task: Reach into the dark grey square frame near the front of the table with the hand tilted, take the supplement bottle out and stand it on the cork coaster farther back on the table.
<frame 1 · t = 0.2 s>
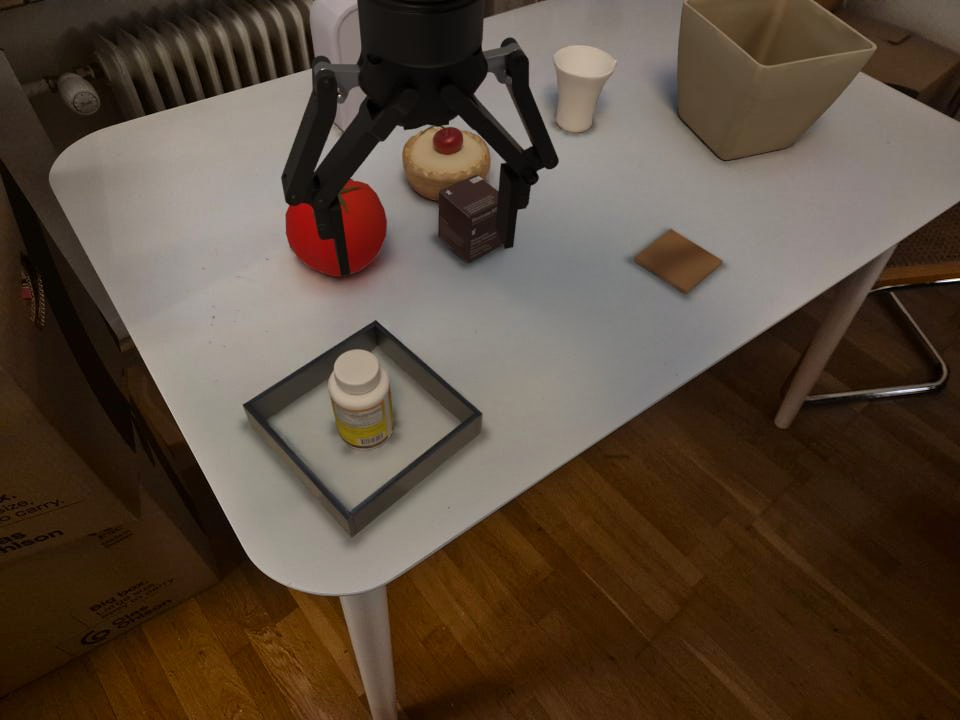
hand: (425, 251, 55), 19 cm above the table, tool pointing down, fingers open, 13 cm apart
box: (470, 242, 84), on the table
cup: (574, 122, 102), on the table
tomato: (342, 260, 81), on the table
coaster: (677, 262, 84), on the table
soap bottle: (360, 117, 100), on the table
flower pot: (733, 133, 103), on the table
supplement bottle: (366, 429, 67), resting in dark grey square frame
dark grey square frame: (366, 428, 66), on the table
pastry: (446, 182, 92), on the table
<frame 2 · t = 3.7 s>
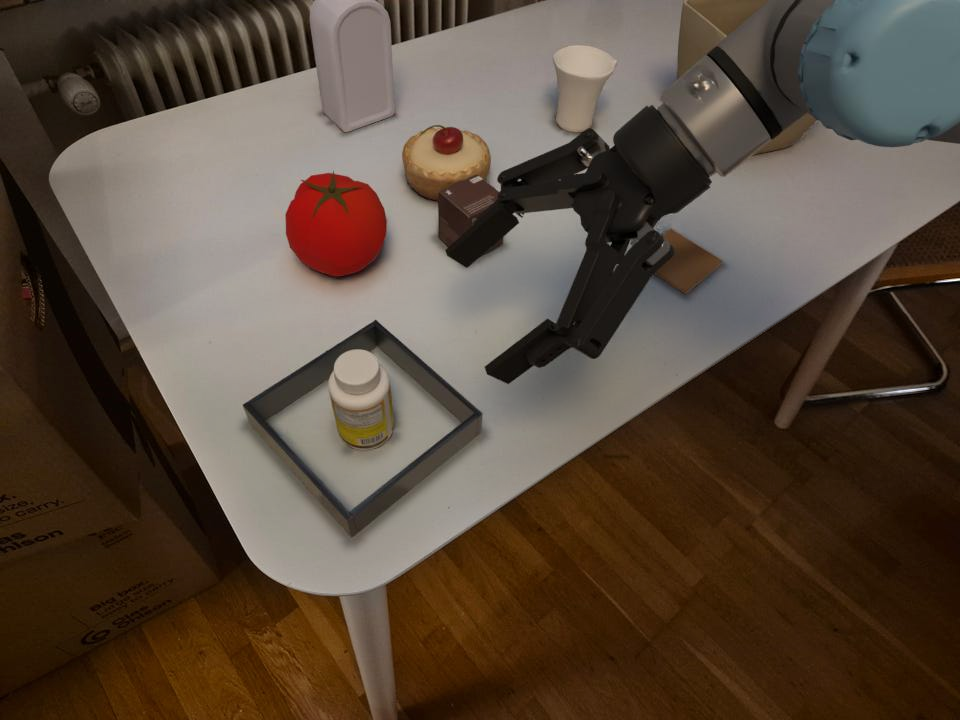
hand: (474, 313, 57), 15 cm above the table, tool tilted 45°, fingers open, 13 cm apart
nothing on the table moved.
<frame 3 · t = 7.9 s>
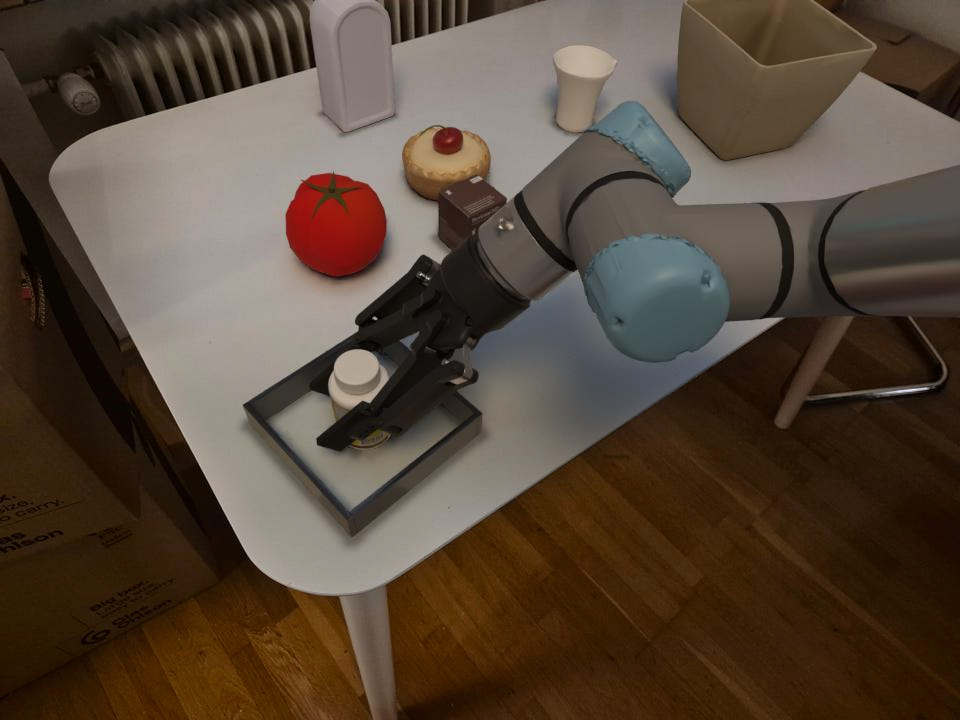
hand: (324, 416, 63), 3 cm above the table, tool tilted 45°, fingers closed on supplement bottle, 6 cm apart
supplement bottle: (366, 429, 67), resting in dark grey square frame, touching gripper
everything else where it was.
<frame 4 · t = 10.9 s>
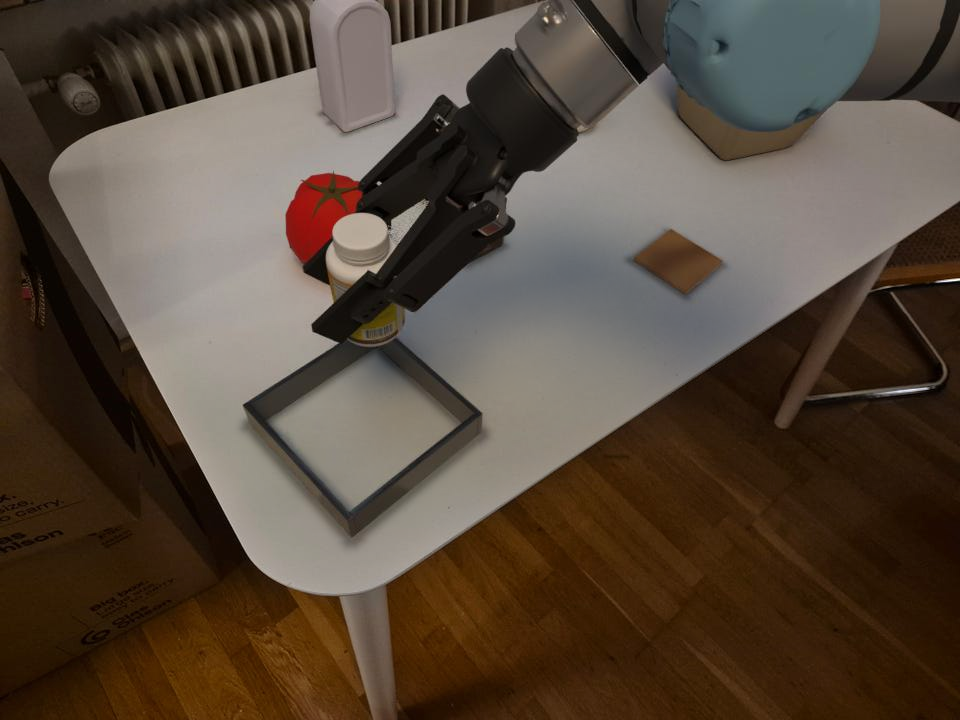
hand: (321, 303, 52), 18 cm above the table, tool tilted 45°, fingers closed on supplement bottle, 6 cm apart
supplement bottle: (371, 326, 56), point 15 cm above the table, touching gripper
everything else where it was.
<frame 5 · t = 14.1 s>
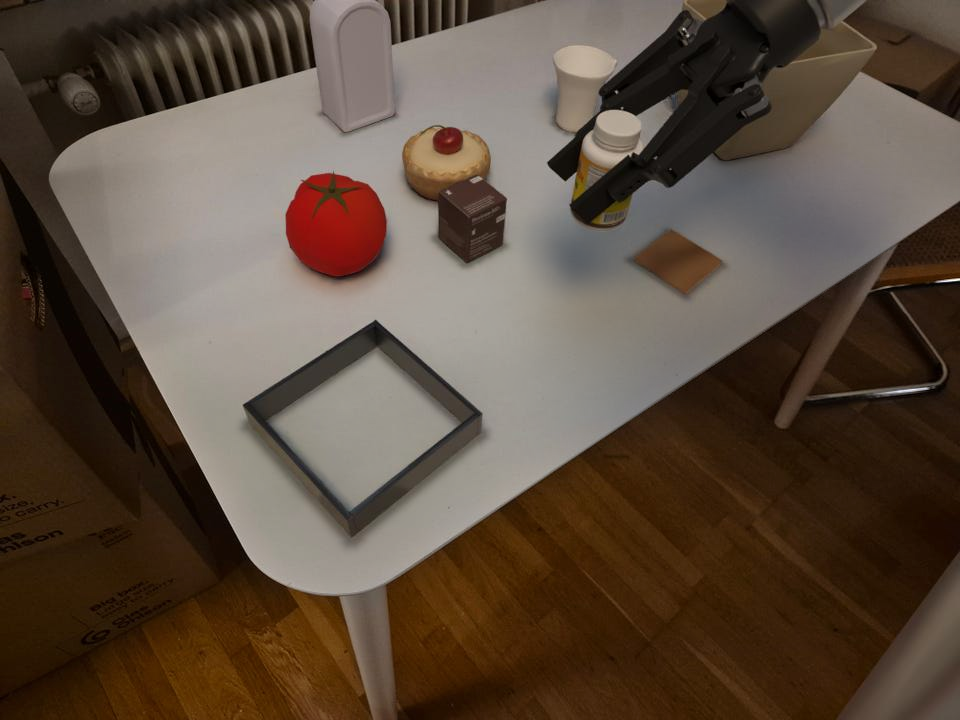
hand: (567, 192, 62), 18 cm above the table, tool tilted 45°, fingers closed on supplement bottle, 6 cm apart
supplement bottle: (596, 217, 65), point 15 cm above the table, touching gripper
everything else where it was.
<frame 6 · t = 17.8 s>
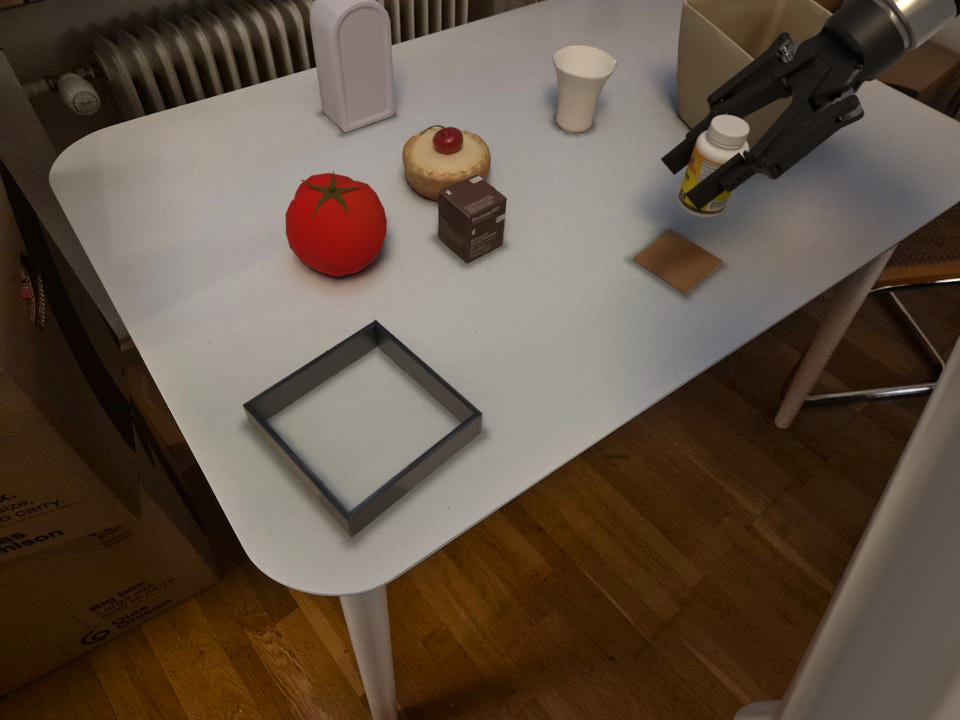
hand: (679, 184, 73), 12 cm above the table, tool tilted 45°, fingers closed on supplement bottle, 6 cm apart
supplement bottle: (699, 205, 77), point 9 cm above the table, touching gripper
everything else where it was.
when the fingers open (4 cm above the table, at t = 20.4 s): supplement bottle stays where it is, resting on coaster.
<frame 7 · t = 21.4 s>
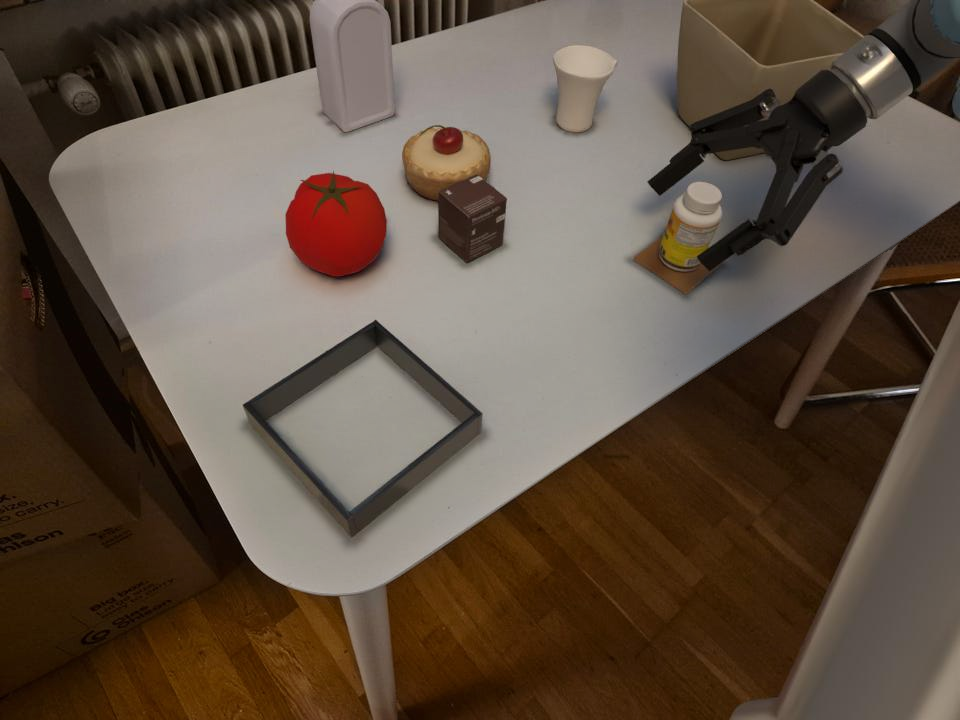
hand: (676, 225, 78), 6 cm above the table, tool tilted 45°, fingers open, 13 cm apart
supplement bottle: (678, 259, 84), resting on coaster
everything else where it was.
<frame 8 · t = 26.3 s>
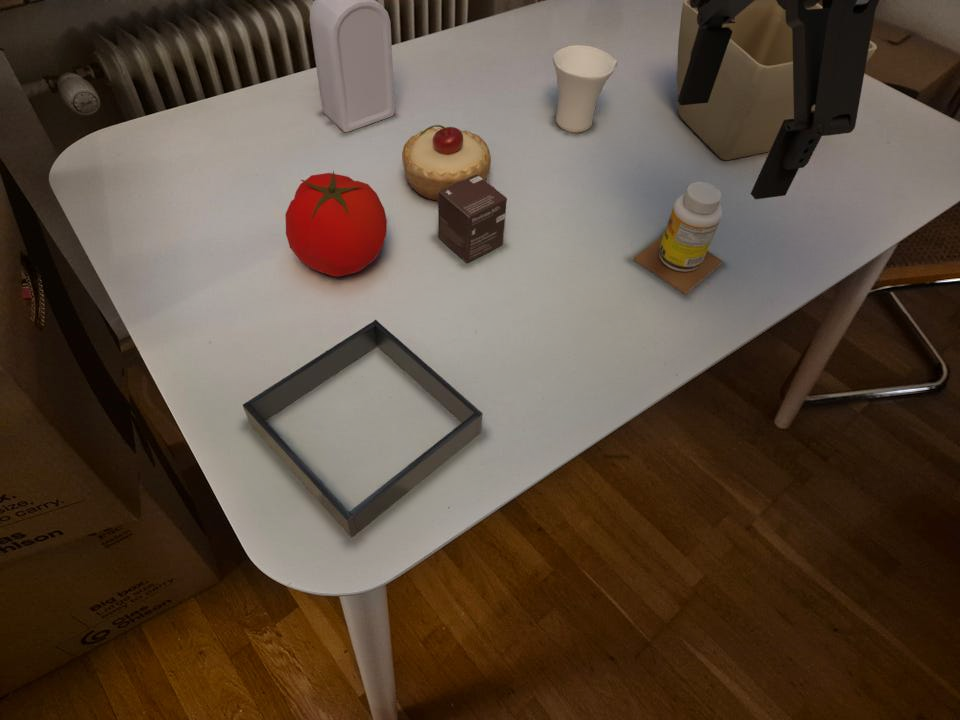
hand: (727, 145, 57), 25 cm above the table, tool pointing down, fingers open, 13 cm apart
nothing on the table moved.
at the end: supplement bottle inside the target area on the coaster (0.0 cm from its centre), point 0.4 cm above the coaster's base; supplement bottle tilted 0°; the gripper is holding nothing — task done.
